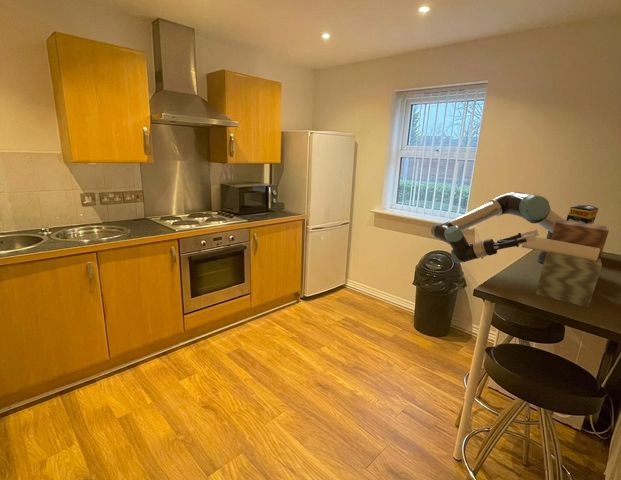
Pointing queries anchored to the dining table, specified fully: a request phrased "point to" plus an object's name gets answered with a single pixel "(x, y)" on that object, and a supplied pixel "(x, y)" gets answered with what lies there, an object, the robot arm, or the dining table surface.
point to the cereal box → (582, 214)
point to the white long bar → (563, 248)
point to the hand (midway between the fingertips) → (536, 234)
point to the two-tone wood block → (572, 264)
